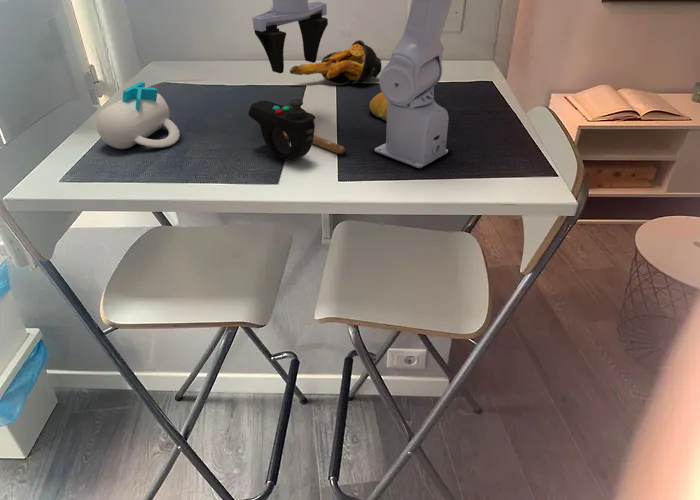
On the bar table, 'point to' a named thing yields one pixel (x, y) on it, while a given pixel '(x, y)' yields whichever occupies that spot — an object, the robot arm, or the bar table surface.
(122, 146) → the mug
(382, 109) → the bread roll
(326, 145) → the spoon
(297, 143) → the controller
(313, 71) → the fried shrimp in bowl
